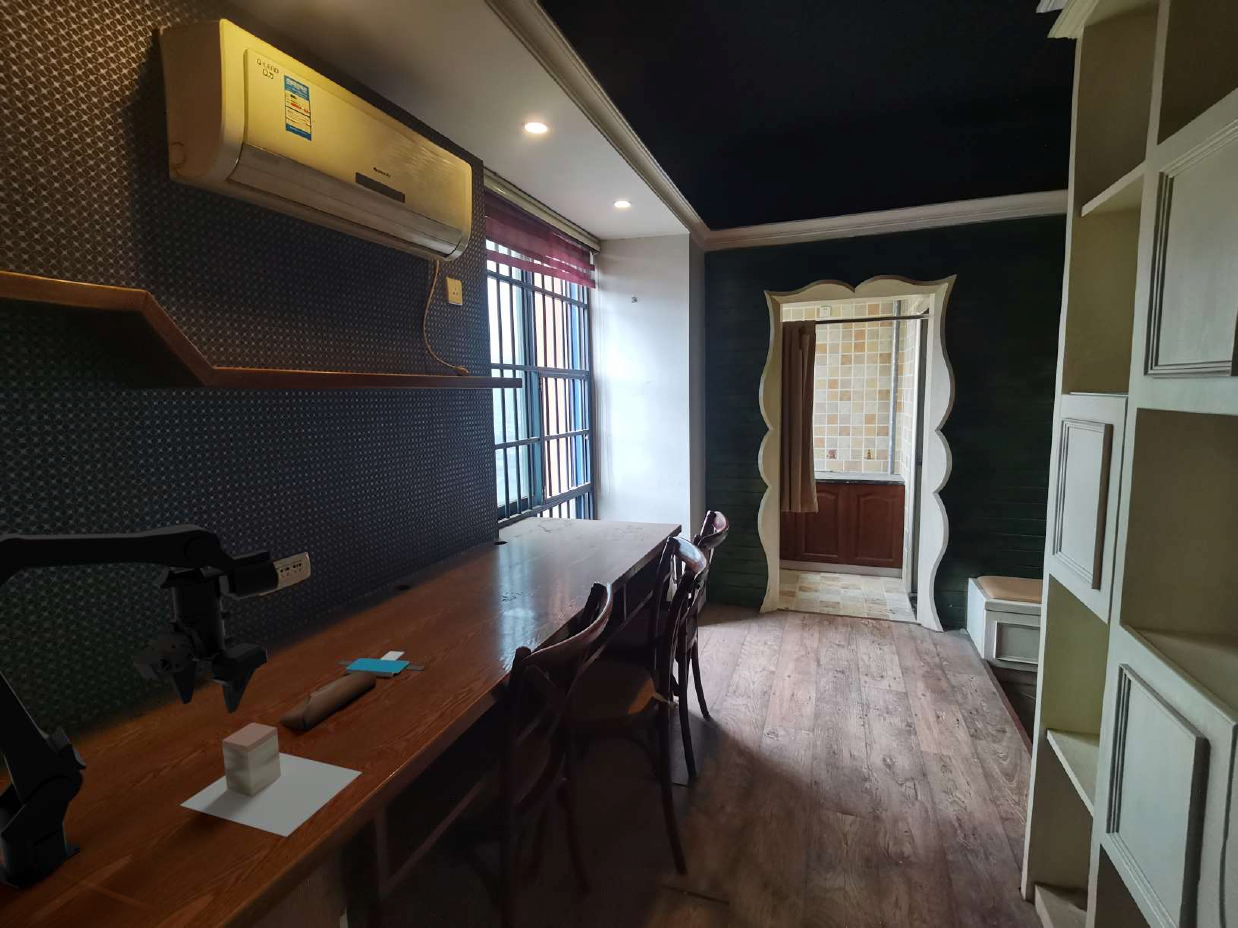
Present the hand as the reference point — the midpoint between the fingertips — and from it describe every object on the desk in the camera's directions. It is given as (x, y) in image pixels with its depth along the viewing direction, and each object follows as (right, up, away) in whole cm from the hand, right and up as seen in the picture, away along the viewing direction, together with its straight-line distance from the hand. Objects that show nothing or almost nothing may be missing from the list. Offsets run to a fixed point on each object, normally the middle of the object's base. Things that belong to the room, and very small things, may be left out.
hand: (209, 707), depth 89 cm
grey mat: (+10, -12, -1) cm, 16 cm away
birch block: (+6, -12, +1) cm, 14 cm away
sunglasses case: (+6, -10, +24) cm, 27 cm away
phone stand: (+10, -8, +40) cm, 42 cm away
